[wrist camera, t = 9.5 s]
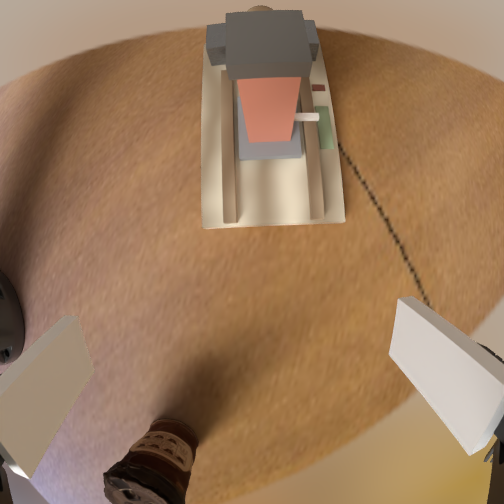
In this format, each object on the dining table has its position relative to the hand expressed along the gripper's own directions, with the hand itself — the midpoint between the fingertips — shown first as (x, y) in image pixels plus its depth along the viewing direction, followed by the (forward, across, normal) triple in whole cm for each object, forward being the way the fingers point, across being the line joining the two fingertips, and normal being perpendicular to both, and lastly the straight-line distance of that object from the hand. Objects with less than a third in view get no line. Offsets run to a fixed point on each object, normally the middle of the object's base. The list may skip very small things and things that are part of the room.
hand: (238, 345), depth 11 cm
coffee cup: (+15, -9, -23) cm, 29 cm away
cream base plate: (+22, +4, +13) cm, 26 cm away
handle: (+20, +5, +12) cm, 24 cm away
